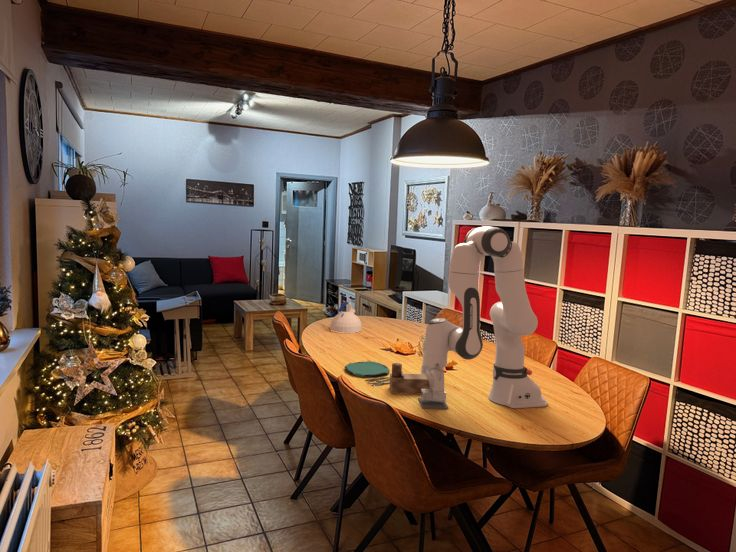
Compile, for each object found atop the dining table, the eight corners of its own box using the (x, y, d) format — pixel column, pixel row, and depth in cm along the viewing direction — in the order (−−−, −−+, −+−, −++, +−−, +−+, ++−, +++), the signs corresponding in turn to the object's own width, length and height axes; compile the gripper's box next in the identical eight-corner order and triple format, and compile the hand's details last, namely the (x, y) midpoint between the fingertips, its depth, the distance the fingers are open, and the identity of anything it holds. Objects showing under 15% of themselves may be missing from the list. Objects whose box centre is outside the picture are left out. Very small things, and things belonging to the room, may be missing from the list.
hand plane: (436, 388, 213) (438, 360, 211) (439, 393, 206) (441, 365, 205) (389, 387, 212) (390, 359, 210) (391, 393, 205) (392, 364, 203)
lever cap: (443, 396, 196) (443, 387, 196) (445, 400, 192) (446, 391, 192) (420, 396, 196) (421, 386, 196) (422, 400, 192) (423, 390, 191)
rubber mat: (443, 399, 199) (443, 398, 199) (448, 409, 190) (448, 407, 190) (418, 399, 199) (418, 397, 199) (422, 408, 189) (422, 407, 189)
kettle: (367, 329, 321) (368, 301, 318) (353, 335, 302) (354, 306, 300) (339, 325, 329) (340, 298, 327) (323, 331, 310) (324, 302, 308)
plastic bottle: (425, 373, 233) (427, 331, 230) (438, 376, 229) (440, 333, 226) (417, 376, 228) (419, 333, 226) (430, 379, 224) (432, 335, 221)
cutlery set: (377, 363, 246) (377, 359, 245) (406, 384, 219) (406, 379, 218) (339, 367, 238) (339, 363, 237) (364, 389, 211) (364, 384, 210)
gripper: (449, 369, 182) (447, 405, 184) (438, 353, 202) (436, 386, 204) (432, 368, 182) (430, 405, 183) (422, 353, 202) (421, 386, 204)
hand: (433, 395), depth 194 cm, fingers closed on lever cap, 4 cm apart
